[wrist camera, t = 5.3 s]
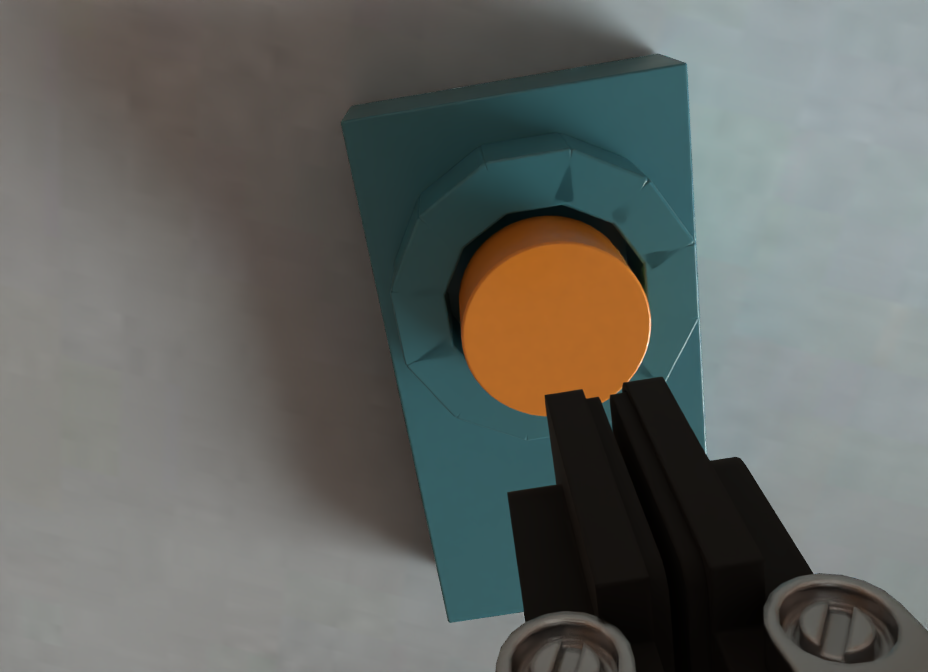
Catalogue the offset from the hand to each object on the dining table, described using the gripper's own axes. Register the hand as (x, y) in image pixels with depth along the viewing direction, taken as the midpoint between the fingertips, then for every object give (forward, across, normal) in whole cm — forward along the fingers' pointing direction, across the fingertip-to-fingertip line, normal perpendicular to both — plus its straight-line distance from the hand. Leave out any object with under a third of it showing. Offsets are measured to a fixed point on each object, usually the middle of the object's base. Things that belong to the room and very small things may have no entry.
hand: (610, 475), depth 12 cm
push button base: (+12, 0, +4) cm, 12 cm away
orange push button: (+8, 0, 0) cm, 8 cm away
